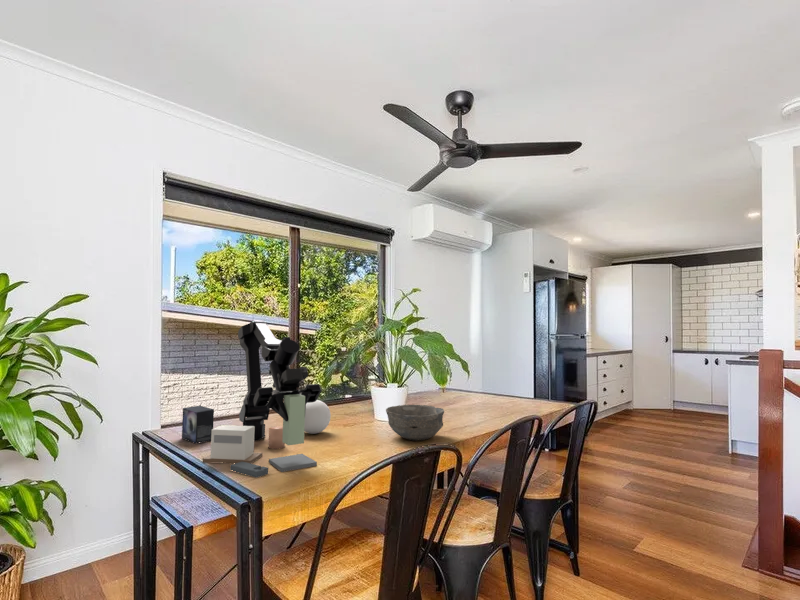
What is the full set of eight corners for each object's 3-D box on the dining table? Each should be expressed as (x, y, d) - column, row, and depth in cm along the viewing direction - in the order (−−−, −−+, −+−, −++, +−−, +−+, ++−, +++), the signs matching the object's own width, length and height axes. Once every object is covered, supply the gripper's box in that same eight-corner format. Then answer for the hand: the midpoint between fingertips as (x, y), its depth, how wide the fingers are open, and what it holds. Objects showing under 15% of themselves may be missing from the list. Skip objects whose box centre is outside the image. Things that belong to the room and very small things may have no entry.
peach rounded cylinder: (265, 448, 139) (266, 429, 139) (272, 444, 144) (272, 425, 144) (281, 449, 138) (281, 429, 139) (286, 445, 143) (287, 426, 144)
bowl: (377, 442, 148) (378, 412, 149) (394, 429, 168) (394, 403, 169) (438, 447, 143) (438, 416, 143) (448, 433, 162) (448, 406, 163)
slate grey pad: (268, 462, 124) (268, 458, 124) (302, 457, 130) (302, 453, 130) (281, 472, 116) (281, 468, 116) (316, 465, 122) (316, 461, 122)
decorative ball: (331, 429, 167) (332, 397, 167) (328, 437, 155) (329, 402, 156) (299, 429, 166) (300, 397, 167) (294, 437, 154) (295, 402, 155)
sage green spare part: (282, 441, 124) (283, 395, 125) (297, 439, 127) (298, 394, 127) (288, 445, 120) (290, 397, 121) (303, 443, 123) (305, 396, 124)
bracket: (241, 468, 120) (242, 461, 120) (268, 475, 115) (268, 467, 115) (229, 472, 117) (229, 464, 117) (256, 479, 111) (257, 471, 111)
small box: (180, 438, 150) (181, 407, 151) (198, 435, 155) (200, 405, 156) (194, 444, 143) (196, 411, 144) (213, 440, 148) (215, 408, 149)
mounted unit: (202, 462, 124) (203, 429, 124) (217, 454, 132) (218, 423, 132) (250, 464, 122) (251, 431, 123) (262, 456, 130) (263, 425, 131)
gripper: (258, 358, 123) (270, 404, 113) (319, 357, 134) (335, 399, 124) (248, 384, 129) (259, 430, 119) (308, 380, 140) (322, 422, 130)
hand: (295, 419), depth 123 cm, fingers closed on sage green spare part, 4 cm apart
